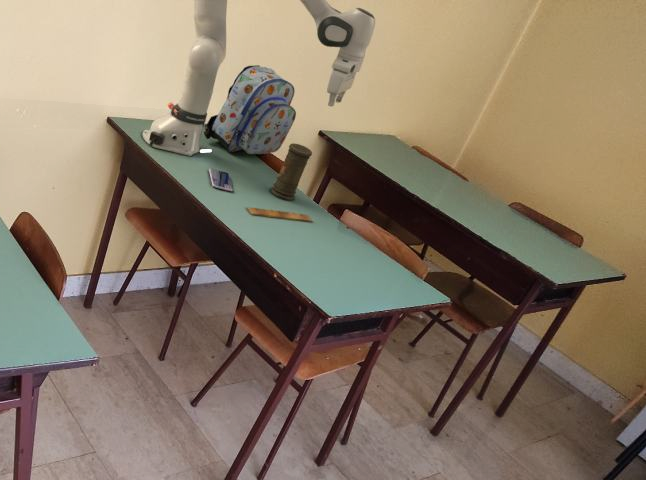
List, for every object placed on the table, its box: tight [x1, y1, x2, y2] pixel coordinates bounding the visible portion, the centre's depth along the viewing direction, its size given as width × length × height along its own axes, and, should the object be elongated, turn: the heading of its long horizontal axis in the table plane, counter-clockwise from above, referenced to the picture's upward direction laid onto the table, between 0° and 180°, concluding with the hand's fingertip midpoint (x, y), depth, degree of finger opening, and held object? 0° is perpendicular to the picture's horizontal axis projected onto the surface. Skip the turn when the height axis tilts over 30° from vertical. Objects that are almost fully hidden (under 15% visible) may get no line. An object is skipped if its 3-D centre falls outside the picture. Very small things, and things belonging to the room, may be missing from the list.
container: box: [270, 143, 313, 201], centre depth 219 cm, size 9×9×18 cm
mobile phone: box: [208, 168, 234, 192], centre depth 216 cm, size 8×1×15 cm
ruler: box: [247, 207, 313, 223], centre depth 208 cm, size 24×4×1 cm, turn 110°
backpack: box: [203, 64, 297, 155], centre depth 242 cm, size 33×25×31 cm
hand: (334, 104), depth 216 cm, fingers open, 8 cm apart
